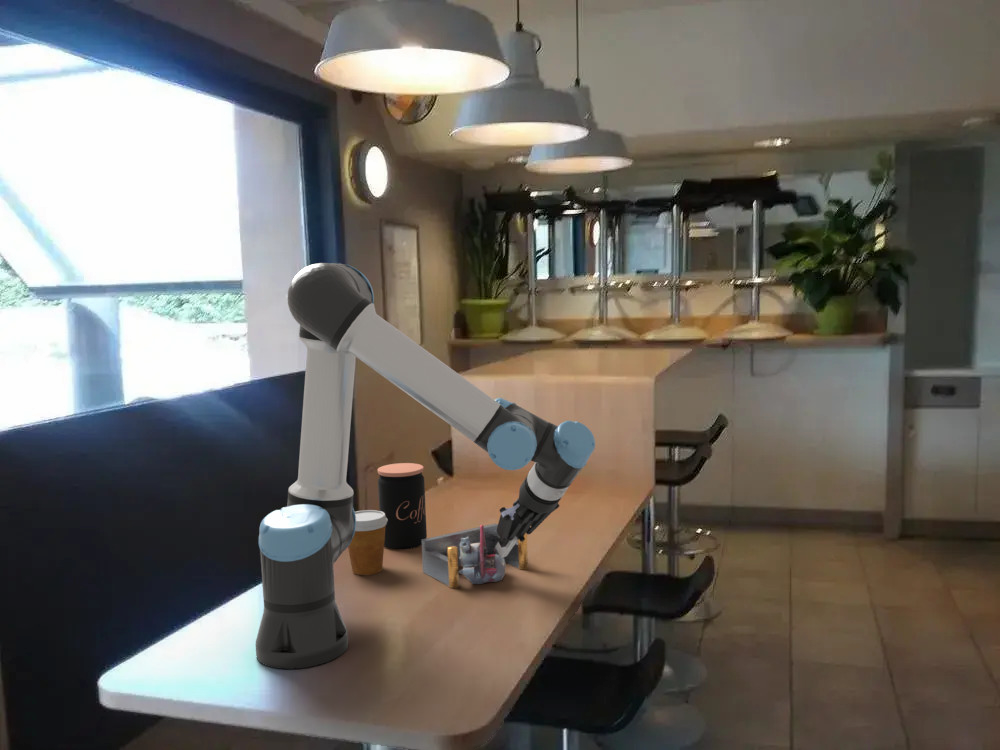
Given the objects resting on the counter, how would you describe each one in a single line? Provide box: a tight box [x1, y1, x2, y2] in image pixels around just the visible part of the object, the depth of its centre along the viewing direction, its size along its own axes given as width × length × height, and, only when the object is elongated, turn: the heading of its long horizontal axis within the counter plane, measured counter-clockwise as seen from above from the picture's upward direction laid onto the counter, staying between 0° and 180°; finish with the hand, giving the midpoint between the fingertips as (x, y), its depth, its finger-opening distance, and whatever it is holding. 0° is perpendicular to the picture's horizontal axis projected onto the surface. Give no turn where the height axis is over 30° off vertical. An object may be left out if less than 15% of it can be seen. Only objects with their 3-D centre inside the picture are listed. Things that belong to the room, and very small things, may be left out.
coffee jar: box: [376, 462, 428, 551], centre depth 203 cm, size 11×11×18 cm
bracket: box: [421, 523, 529, 589], centre depth 183 cm, size 19×12×8 cm, turn 124°
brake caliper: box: [458, 524, 507, 585], centre depth 179 cm, size 11×11×12 cm
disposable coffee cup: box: [347, 509, 388, 576], centre depth 186 cm, size 10×10×12 cm
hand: (500, 551), depth 177 cm, fingers closed
